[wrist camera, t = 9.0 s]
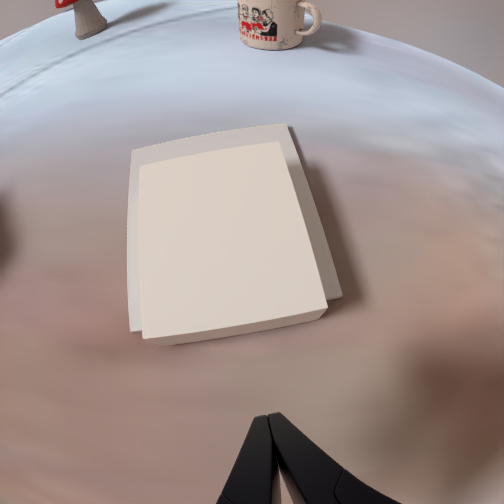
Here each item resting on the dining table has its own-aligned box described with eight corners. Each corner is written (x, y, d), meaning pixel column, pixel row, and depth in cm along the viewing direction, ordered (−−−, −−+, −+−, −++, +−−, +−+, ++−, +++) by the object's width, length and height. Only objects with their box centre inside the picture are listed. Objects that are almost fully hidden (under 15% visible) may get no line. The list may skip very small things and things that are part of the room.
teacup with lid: (224, 40, 34) (217, -32, 24) (266, 22, 37) (266, -41, 26) (295, 66, 31) (301, -20, 20) (334, 46, 34) (344, -26, 23)
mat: (340, 297, 20) (342, 295, 19) (133, 333, 19) (130, 331, 18) (285, 127, 26) (285, 122, 26) (134, 154, 25) (132, 150, 25)
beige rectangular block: (328, 307, 16) (278, 141, 21) (142, 338, 15) (139, 166, 20) (317, 319, 18) (277, 168, 23) (160, 346, 18) (151, 190, 23)
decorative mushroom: (73, 48, 39) (50, -13, 25) (67, 40, 42) (47, -14, 28) (120, 25, 41) (103, -37, 28) (109, 18, 44) (94, -36, 31)
